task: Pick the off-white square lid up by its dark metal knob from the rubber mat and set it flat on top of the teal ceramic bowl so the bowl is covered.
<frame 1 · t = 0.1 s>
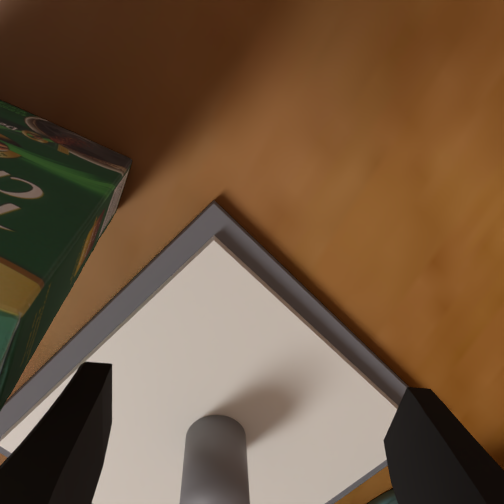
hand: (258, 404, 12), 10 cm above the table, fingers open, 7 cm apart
lid: (216, 430, 25), resting on mat
mat: (216, 423, 25), on the table
coffee box: (38, 147, 20), on the table
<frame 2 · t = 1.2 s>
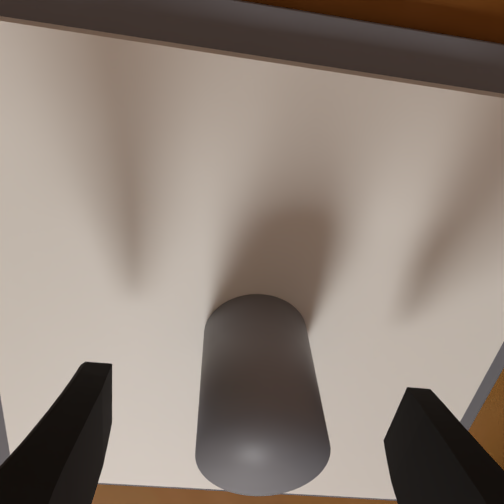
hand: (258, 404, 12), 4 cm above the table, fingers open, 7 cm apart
lid: (254, 322, 15), resting on mat
mat: (253, 312, 15), on the table
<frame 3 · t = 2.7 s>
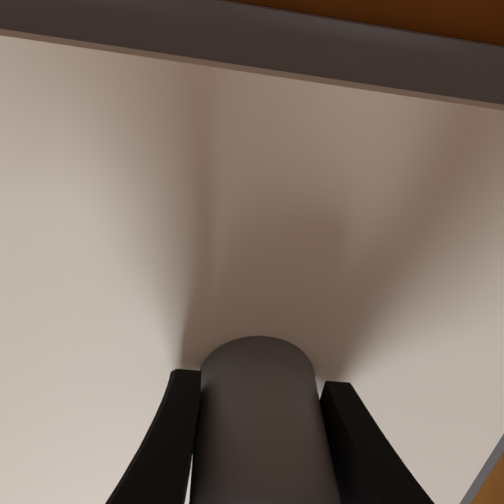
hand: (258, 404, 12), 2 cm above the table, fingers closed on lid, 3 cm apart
lid: (255, 363, 13), resting on mat, touching gripper
mat: (254, 350, 13), on the table
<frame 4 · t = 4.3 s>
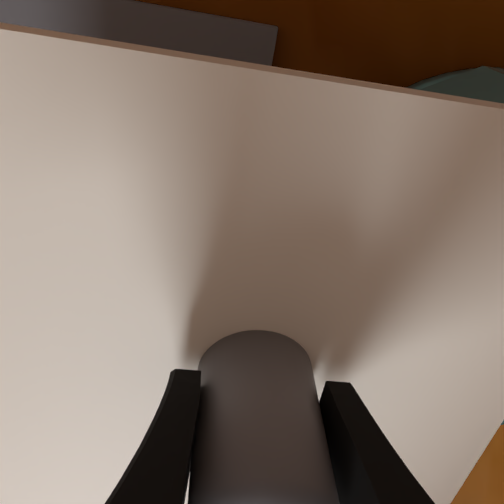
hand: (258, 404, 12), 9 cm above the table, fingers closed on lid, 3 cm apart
lid: (253, 357, 13), point 7 cm above the table, touching gripper
mat: (21, 223, 19), on the table
bowl: (449, 233, 20), on the table
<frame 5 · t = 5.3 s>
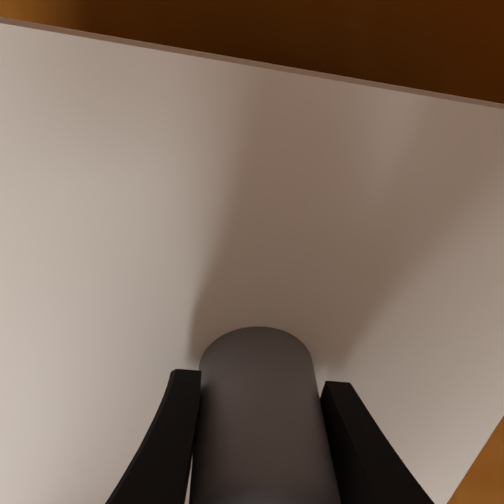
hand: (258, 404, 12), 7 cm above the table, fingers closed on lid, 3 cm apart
lid: (254, 354, 13), point 5 cm above the table, touching gripper
when the fingers open (7 cm above the table, at t = 5.9 s): lid stays where it is, resting on bowl.
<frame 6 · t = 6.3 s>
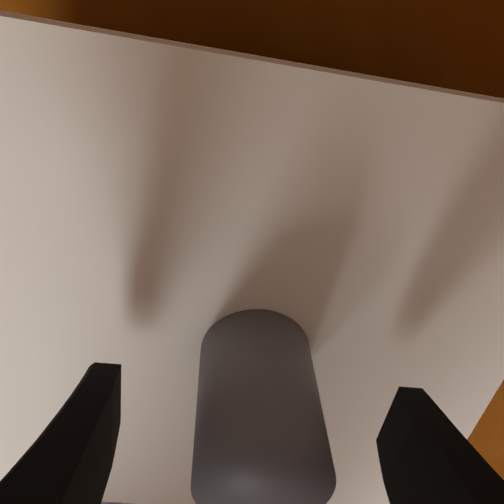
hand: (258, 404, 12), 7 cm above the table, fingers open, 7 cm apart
lid: (254, 337, 14), point 4 cm above the table, touching bowl
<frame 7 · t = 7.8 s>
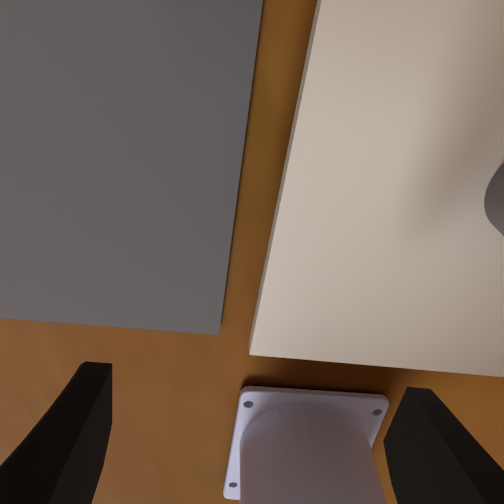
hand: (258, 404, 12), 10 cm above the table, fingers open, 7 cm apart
mat: (15, 135, 18), on the table
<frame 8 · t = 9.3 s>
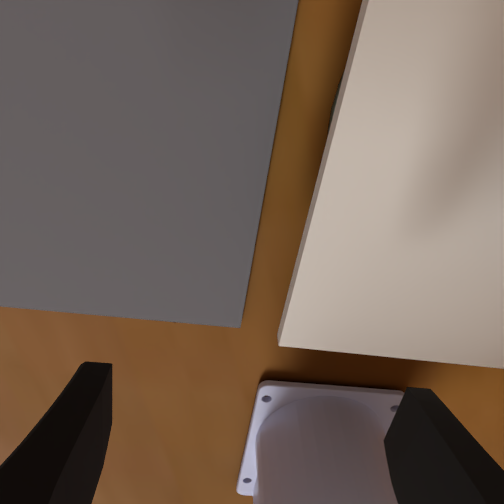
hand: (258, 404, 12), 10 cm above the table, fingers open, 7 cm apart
mat: (43, 122, 18), on the table
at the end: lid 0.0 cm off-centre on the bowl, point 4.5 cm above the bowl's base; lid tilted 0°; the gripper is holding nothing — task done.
